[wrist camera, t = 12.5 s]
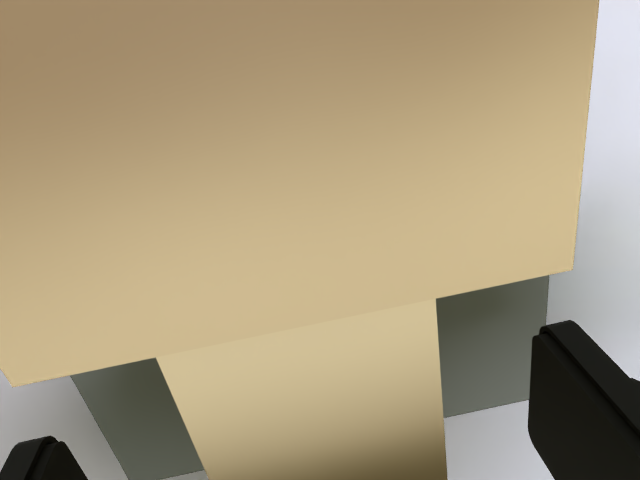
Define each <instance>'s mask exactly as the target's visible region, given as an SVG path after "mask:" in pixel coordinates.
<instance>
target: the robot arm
mask: <svg viewBox="0 0 640 480" xmlns="http://www.w3.org/2000/svg"><path fill="white" fill-rule="evenodd" d="M528 431H529V435H530V439H531V441H532V443H533V445H534V447H535V448H536V450H537V452H538V453H539V455H540V457H541V458H542V460H543V461H544V463H545V465H546V466H547V468H548V469H549V471H550V473H551V474H552V476H553V477H554V479H555V480H640V381H638V380H635V379H633V378H629V377H628V376H627V375H626V374H625V373H624V372H623V371H622V370H621V369H620V367H619V366H618V365H617V364H616V363H615V362H614V361H613V360H612V359H611V358H610V357H609V356H608V355H607V354H606V353H605V352H604V351H603V350H602V349H601V348H600V347H599V346H598V345H597V344H596V343H595V342H594V341H593V340H592V339H591V338H590V337H589V336H588V335H587V334H586V333H585V332H584V331H583V330H582V328H581V327H580V326H579V325H578V324H576V323H575V322H574V321H571V320H568V321H564V322H559V323H555V324H550V325H546V326H542V327H541V328H540V330H539V335H535V336H533V338H532V351H531V372H530V392H529V413H528ZM0 480H88V479H87V477H86V476H85V474H84V473H83V471H82V469H81V468H80V466H79V464H78V463H77V461H76V460H75V458H74V456H73V455H72V453H71V452H70V450H69V448H68V447H67V445H66V444H65V443H64V442H62V441H60V442H58V441H57V440H56V439H55V438H54V437H52V436H47V437H42V438H38V439H33V440H29V441H24V442H20V443H18V444H17V445H15V446H14V448H13V449H12V451H11V452H10V454H9V456H8V458H7V460H6V462H5V464H4V466H3V468H2V470H1V472H0Z"/></svg>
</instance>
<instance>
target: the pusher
mask: <svg viewBox="0 0 640 480" xmlns="http://www.w3.org/2000/svg"><path fill="white" fill-rule="evenodd" d="M598 8H599V0H0V369H1V370H2V372H3V373H4V375H5V376H6V378H7V379H8V381H9V382H10V384H11V386H12V387H17V386H21V385H26V384H31V383H36V382H41V381H45V380H50V379H55V378H60V377H64V376H69V375H74V374H79V373H84V372H88V371H93V370H98V369H103V368H107V367H112V366H117V365H122V364H126V363H131V362H136V361H141V360H146V359H150V358H155V357H156V359H157V362H158V364H159V366H160V369H161V371H162V373H163V375H164V378H165V380H166V382H167V385H168V387H169V389H170V391H171V394H172V396H173V398H174V401H175V403H176V405H177V407H178V410H179V412H180V414H181V417H182V419H183V421H184V423H185V426H186V428H187V430H188V433H189V435H190V437H191V439H192V442H193V444H194V446H195V449H196V451H197V453H198V455H199V458H200V460H201V462H202V465H203V467H204V469H205V472H206V474H207V476H208V478H209V480H447V466H446V450H445V435H444V419H443V404H442V389H441V373H440V358H439V343H438V327H437V312H436V299H437V298H441V297H446V296H451V295H456V294H460V293H465V292H470V291H475V290H479V289H484V288H489V287H494V286H499V285H503V284H508V283H513V282H518V281H522V280H527V279H532V278H537V277H542V276H546V275H551V274H556V273H561V272H565V271H570V270H573V262H574V252H575V242H576V232H577V222H578V212H579V201H580V191H581V181H582V171H583V161H584V151H585V140H586V130H587V120H588V110H589V100H590V90H591V79H592V69H593V59H594V49H595V39H596V28H597V18H598Z"/></svg>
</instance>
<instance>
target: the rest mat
mask: <svg viewBox="0 0 640 480" xmlns="http://www.w3.org/2000/svg"><path fill="white" fill-rule="evenodd" d="M548 285H549V275H546V276H542V277H537V278H532V279H527V280H522V281H518V282H513V283H508V284H503V285H499V286H494V287H489V288H484V289H479V290H475V291H470V292H465V293H460V294H456V295H451V296H446V297H441V298H437V299H436V312H437V327H438V343H439V358H440V373H441V389H442V404H443V418H447V417H451V416H456V415H460V414H465V413H470V412H474V411H479V410H483V409H488V408H493V407H497V406H502V405H507V404H511V403H516V402H520V401H525V400H529V392H530V372H531V351H532V338H533V336H535V335H539V330H540V328H541V327H542V326H546V314H547V300H548ZM70 376H71V378H72V380H73V381H74V383H75V385H76V387H77V389H78V390H79V392H80V394H81V396H82V397H83V399H84V401H85V403H86V405H87V406H88V408H89V410H90V412H91V413H92V415H93V417H94V419H95V420H96V422H97V424H98V426H99V428H100V429H101V431H102V433H103V435H104V436H105V438H106V440H107V442H108V444H109V445H110V447H111V449H112V451H113V452H114V454H115V456H116V458H117V459H118V461H119V463H120V465H121V467H122V468H123V470H124V472H125V474H126V475H127V477H128V479H129V480H160V479H165V478H170V477H174V476H179V475H183V474H188V473H193V472H197V471H202V470H205V469H204V467H203V465H202V462H201V460H200V458H199V455H198V453H197V451H196V449H195V446H194V444H193V442H192V439H191V437H190V435H189V433H188V430H187V428H186V426H185V423H184V421H183V419H182V417H181V414H180V412H179V410H178V407H177V405H176V403H175V401H174V398H173V396H172V394H171V391H170V389H169V387H168V385H167V382H166V380H165V378H164V375H163V373H162V371H161V369H160V366H159V364H158V362H157V359H156V357H155V358H150V359H146V360H141V361H136V362H131V363H126V364H122V365H117V366H112V367H107V368H103V369H98V370H93V371H88V372H84V373H79V374H74V375H70Z"/></svg>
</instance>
